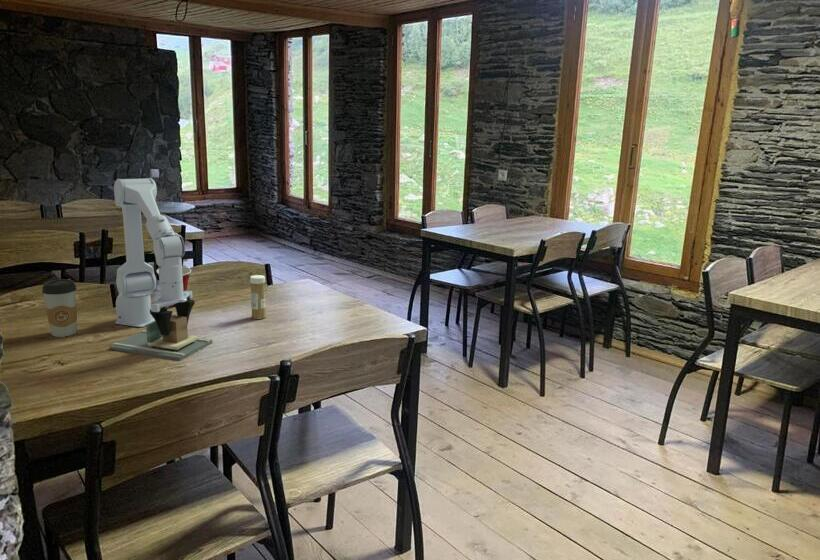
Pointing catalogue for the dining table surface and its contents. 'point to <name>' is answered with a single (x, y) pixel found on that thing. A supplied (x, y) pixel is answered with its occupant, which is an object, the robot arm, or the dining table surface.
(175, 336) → the walnut block
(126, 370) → the dining table surface
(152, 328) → the sliding tray
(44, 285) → the coffee cup
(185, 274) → the plastic cup
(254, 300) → the sprinkles bottle
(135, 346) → the track board
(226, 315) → the dining table surface
